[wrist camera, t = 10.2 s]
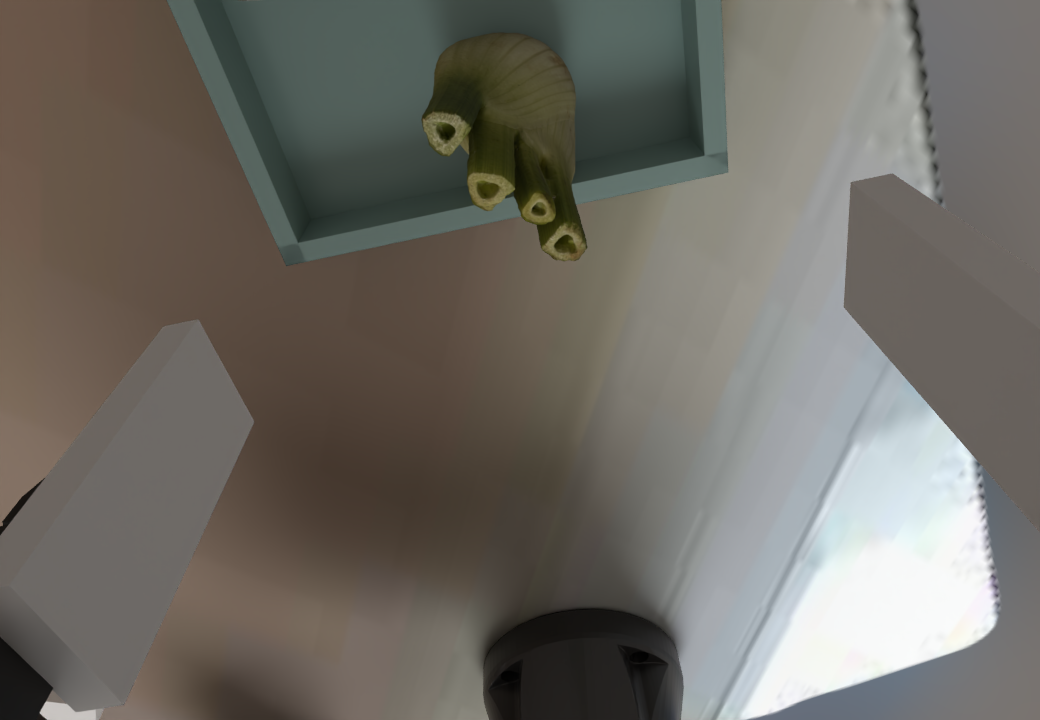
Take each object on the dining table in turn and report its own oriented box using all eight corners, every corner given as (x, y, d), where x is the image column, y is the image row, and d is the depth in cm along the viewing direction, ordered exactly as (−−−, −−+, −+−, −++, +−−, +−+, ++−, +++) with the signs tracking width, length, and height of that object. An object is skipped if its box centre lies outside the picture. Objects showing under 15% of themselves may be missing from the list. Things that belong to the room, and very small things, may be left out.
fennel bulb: (428, 38, 27) (390, 125, 17) (546, -7, 26) (577, 56, 17) (480, 174, 30) (473, 312, 21) (587, 136, 30) (634, 262, 20)
